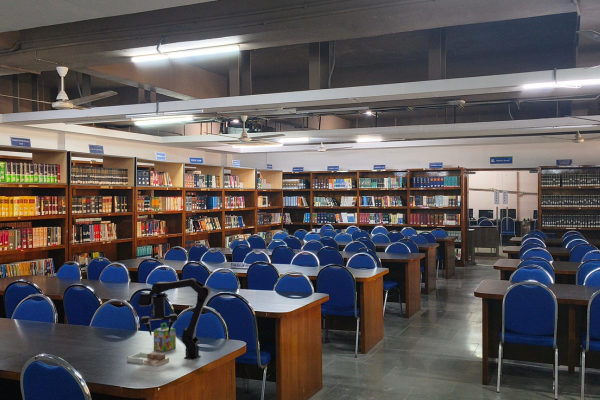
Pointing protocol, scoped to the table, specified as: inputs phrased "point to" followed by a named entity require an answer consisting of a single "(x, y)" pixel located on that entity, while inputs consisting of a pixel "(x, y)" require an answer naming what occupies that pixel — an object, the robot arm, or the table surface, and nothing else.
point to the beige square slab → (156, 361)
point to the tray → (137, 358)
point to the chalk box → (164, 338)
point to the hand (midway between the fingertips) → (159, 334)
